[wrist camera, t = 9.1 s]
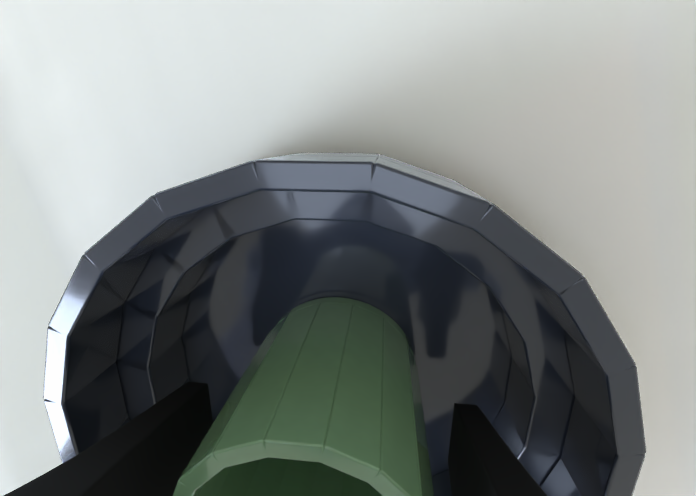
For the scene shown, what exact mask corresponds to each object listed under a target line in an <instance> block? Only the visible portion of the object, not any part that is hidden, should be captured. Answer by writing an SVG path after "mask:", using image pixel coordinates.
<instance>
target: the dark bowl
mask: <svg viewBox="0 0 696 496" xmlns="http://www.w3.org/2000/svg"><path fill="white" fill-rule="evenodd" d="M327 297H341V298H350V299H354V300H358V301H361V302H364V303H367V304H369V305H371V306H373V307H375V308H377V309H379V310H381V311H382V312H384V313H385V314H387V315H388V316H389V317H390V318H391V319H393V320H394V321H395V322H396V323H397V324H398V325H399V327H400V328H401V329H402V330H403V332H404V333H405V335H406V336H407V338H408V340H409V342H410V344H411V346H412V349H413V352H414V356H415V362H416V364H417V367H418V374H419V382H420V390H421V398H422V405H423V413H424V421H425V429H426V436H427V444H428V452H429V460H430V467H431V475H432V483H433V491H434V496H452V491H451V484H450V476H449V468H448V453H449V445H450V436H451V428H452V419H453V410H454V403H459V404H472V405H477V406H478V407H479V408H480V409H481V410H482V412H483V413H484V415H485V416H486V417H487V419H488V420H489V422H490V423H491V424H492V426H493V427H494V429H495V430H496V431H497V433H498V434H499V435H500V437H501V438H502V439H503V441H504V442H505V443H506V445H507V446H508V447H509V449H510V450H511V451H512V453H513V454H514V455H515V456H516V458H517V459H518V460H519V462H520V463H521V464H522V465H523V467H524V468H525V469H526V470H527V472H528V473H529V474H530V475H531V476H532V478H533V479H534V480H535V481H536V483H537V484H538V485H539V486H540V487H541V489H542V490H543V491H544V492H545V493H546V495H547V496H632V495H633V492H634V489H635V485H636V482H637V479H638V476H639V473H640V470H641V467H642V464H643V461H644V458H645V453H646V446H645V437H644V429H643V420H642V411H641V402H640V394H639V385H638V376H637V368H636V366H635V362H634V360H633V359H632V357H631V355H630V353H629V352H628V350H627V348H626V347H625V345H624V343H623V342H622V340H621V338H620V336H619V335H618V333H617V331H616V330H615V328H614V326H613V324H612V323H611V321H610V319H609V318H608V316H607V314H606V312H605V311H604V309H603V307H602V306H601V304H600V302H599V301H598V299H597V297H596V295H595V294H594V292H593V290H592V289H591V287H590V285H589V283H588V282H587V280H586V278H585V277H583V276H582V274H581V273H580V272H579V271H577V270H576V269H575V268H574V267H572V266H571V265H570V264H569V263H567V262H566V261H565V260H564V259H562V258H561V257H560V256H558V255H557V254H556V253H555V252H553V251H552V250H551V249H550V248H548V247H547V246H546V245H545V244H543V243H542V242H541V241H540V240H538V239H537V238H536V237H535V236H533V235H532V234H531V233H530V232H528V231H527V230H526V229H524V228H523V227H522V226H521V225H519V224H518V223H517V222H516V221H514V220H513V219H512V218H511V217H509V216H508V215H507V214H506V213H504V212H503V211H502V210H501V209H499V208H498V207H497V206H496V205H494V204H493V203H491V202H489V201H488V200H486V199H485V198H483V197H481V196H480V195H478V194H476V193H475V192H473V191H471V190H470V189H468V188H466V187H465V186H463V185H462V184H460V183H458V182H457V181H455V180H453V179H450V178H447V177H445V176H442V175H439V174H436V173H433V172H430V171H428V170H425V169H422V168H419V167H416V166H413V165H410V164H408V163H405V162H402V161H399V160H396V159H393V158H391V157H388V156H385V155H382V154H380V155H379V154H375V153H297V154H290V155H284V156H278V157H272V158H265V159H259V160H253V161H249V162H246V163H243V164H240V165H237V166H234V167H232V168H229V169H226V170H223V171H220V172H217V173H214V174H211V175H208V176H205V177H202V178H199V179H196V180H193V181H190V182H187V183H184V184H181V185H178V186H175V187H173V188H170V189H167V190H164V191H161V192H158V193H156V194H155V195H153V196H151V197H149V198H148V199H147V200H146V201H145V202H144V203H142V204H141V205H140V206H139V207H138V208H137V209H135V210H134V211H133V212H132V213H131V214H130V215H128V216H127V217H126V218H125V219H124V220H122V221H121V222H120V223H119V224H118V225H117V226H115V227H114V228H113V229H112V230H111V231H110V232H108V233H107V234H106V235H105V236H104V237H102V238H101V239H100V240H99V241H98V242H97V243H95V244H94V245H93V246H92V247H91V248H90V249H88V250H87V251H86V252H85V254H84V255H83V256H82V257H81V259H80V261H79V263H78V265H77V267H76V269H75V271H74V273H73V275H72V277H71V280H70V282H69V284H68V286H67V288H66V290H65V292H64V294H63V296H62V298H61V300H60V302H59V304H58V306H57V308H56V310H55V312H54V314H53V316H52V318H51V320H50V322H49V327H48V329H47V346H46V362H45V379H44V396H43V397H44V399H45V400H44V403H45V406H46V410H47V413H48V416H49V420H50V423H51V426H52V430H53V433H54V436H55V440H56V443H57V447H58V450H59V453H60V457H61V460H62V463H64V462H66V461H68V460H69V459H71V458H73V457H74V456H76V455H78V454H79V453H81V452H82V451H84V450H86V449H87V448H89V447H90V446H92V445H94V444H95V443H97V442H98V441H100V440H101V439H103V438H105V437H106V436H108V435H109V434H111V433H113V432H114V431H116V430H117V429H119V428H120V427H122V426H123V425H125V424H126V423H128V422H129V421H131V420H132V419H134V418H135V417H137V416H138V415H140V414H141V413H143V412H144V411H146V410H147V409H148V408H150V407H151V406H153V405H154V404H156V403H157V402H159V401H160V400H162V399H163V398H165V397H166V396H167V395H169V394H170V393H172V392H173V391H175V390H176V389H178V388H179V387H181V386H183V385H184V384H186V383H188V382H198V383H208V388H209V395H210V403H211V411H212V419H213V423H214V421H215V419H216V418H217V416H218V414H219V413H220V411H221V410H222V408H223V406H224V405H225V403H226V401H227V400H228V398H229V397H230V395H231V393H232V392H233V390H234V388H235V387H236V385H237V384H238V382H239V380H240V379H241V377H242V375H243V374H244V372H245V371H246V369H247V367H248V366H249V364H250V362H251V361H252V359H253V358H254V356H255V354H256V353H257V351H258V350H259V348H260V346H261V345H262V343H263V341H264V340H265V338H266V337H267V335H268V333H269V332H270V331H271V330H272V329H273V328H274V326H275V325H276V323H277V322H278V321H279V320H280V319H281V318H282V317H283V316H284V315H285V314H286V313H287V312H289V311H290V310H291V309H293V308H295V307H297V306H298V305H300V304H303V303H305V302H308V301H311V300H315V299H320V298H327Z"/></svg>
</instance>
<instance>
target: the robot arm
mask: <svg viewBox="0 0 696 496" xmlns="http://www.w3.org/2000/svg"><path fill="white" fill-rule="evenodd" d="M212 424H213V419H212V411H211V403H210V395H209V388H208V383H198V382H188V383H186V384H184V385H183V386H181V387H179V388H178V389H176V390H175V391H173V392H172V393H170V394H169V395H167V396H166V397H165V398H163V399H162V400H160V401H159V402H157V403H156V404H154V405H153V406H151V407H150V408H148V409H147V410H146V411H144V412H143V413H141V414H140V415H138V416H137V417H135V418H134V419H132V420H131V421H129V422H128V423H126V424H125V425H123V426H122V427H120V428H119V429H117V430H116V431H114V432H113V433H111V434H109V435H108V436H106V437H105V438H103V439H101V440H100V441H98V442H97V443H95V444H94V445H92V446H90V447H89V448H87V449H86V450H84V451H82V452H81V453H79V454H78V455H76V456H74V457H73V458H71V459H69V460H68V461H66V462H64V463H63V464H61V465H59V466H57V467H56V468H54V469H52V470H51V471H49V472H47V473H45V474H43V475H42V476H40V477H38V478H36V479H34V480H32V481H31V482H29V483H27V484H25V485H23V486H21V487H20V488H18V489H16V490H14V491H12V492H10V493H8V494H6V495H4V496H173V493H174V490H175V487H176V484H177V482H178V479H179V478H180V476H181V475H182V473H183V471H184V470H185V468H186V466H187V465H188V463H189V462H190V460H191V458H192V457H193V455H194V453H195V452H196V450H197V449H198V447H199V445H200V444H201V442H202V440H203V439H204V437H205V436H206V434H207V432H208V431H209V429H210V427H211V426H212ZM448 468H449V476H450V484H451V491H452V496H547V495H546V493H545V492H544V491H543V490H542V489H541V487H540V486H539V485H538V484H537V483H536V481H535V480H534V479H533V478H532V476H531V475H530V474H529V473H528V472H527V470H526V469H525V468H524V467H523V465H522V464H521V463H520V462H519V460H518V459H517V458H516V456H515V455H514V454H513V453H512V451H511V450H510V449H509V447H508V446H507V445H506V443H505V442H504V441H503V439H502V438H501V437H500V435H499V434H498V433H497V431H496V430H495V429H494V427H493V426H492V424H491V423H490V422H489V420H488V419H487V417H486V416H485V415H484V413H483V412H482V410H481V409H480V408H479V407H478V406H477V405H472V404H459V403H454V410H453V419H452V428H451V436H450V445H449V453H448Z"/></svg>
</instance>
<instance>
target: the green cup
mask: <svg viewBox="0 0 696 496" xmlns="http://www.w3.org/2000/svg"><path fill="white" fill-rule="evenodd" d="M173 496H434V491H433V483H432V475H431V467H430V460H429V452H428V444H427V436H426V429H425V421H424V413H423V405H422V398H421V390H420V382H419V374H418V367H417V364H416V362H415V356H414V352H413V349H412V346H411V344H410V342H409V340H408V338H407V336H406V335H405V333H404V332H403V330H402V329H401V328H400V327H399V325H398V324H397V323H396V322H395V321H394V320H393V319H391V318H390V317H389V316H388V315H387V314H385V313H384V312H382V311H381V310H379V309H377V308H375V307H373V306H371V305H369V304H367V303H364V302H361V301H358V300H354V299H350V298H341V297H327V298H320V299H315V300H311V301H308V302H305V303H303V304H300V305H298V306H297V307H295V308H293V309H291V310H290V311H289V312H287V313H286V314H285V315H284V316H283V317H282V318H281V319H280V320H279V321H278V322H277V323H276V325H275V326H274V328H273V329H272V330H271V331H270V332H269V333H268V335H267V337H266V338H265V340H264V341H263V343H262V345H261V346H260V348H259V350H258V351H257V353H256V354H255V356H254V358H253V359H252V361H251V362H250V364H249V366H248V367H247V369H246V371H245V372H244V374H243V375H242V377H241V379H240V380H239V382H238V384H237V385H236V387H235V388H234V390H233V392H232V393H231V395H230V397H229V398H228V400H227V401H226V403H225V405H224V406H223V408H222V410H221V411H220V413H219V414H218V416H217V418H216V419H215V421H214V423H213V424H212V426H211V427H210V429H209V431H208V432H207V434H206V436H205V437H204V439H203V440H202V442H201V444H200V445H199V447H198V449H197V450H196V452H195V453H194V455H193V457H192V458H191V460H190V462H189V463H188V465H187V466H186V468H185V470H184V471H183V473H182V475H181V476H180V478H179V479H178V482H177V484H176V487H175V490H174V493H173Z"/></svg>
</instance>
